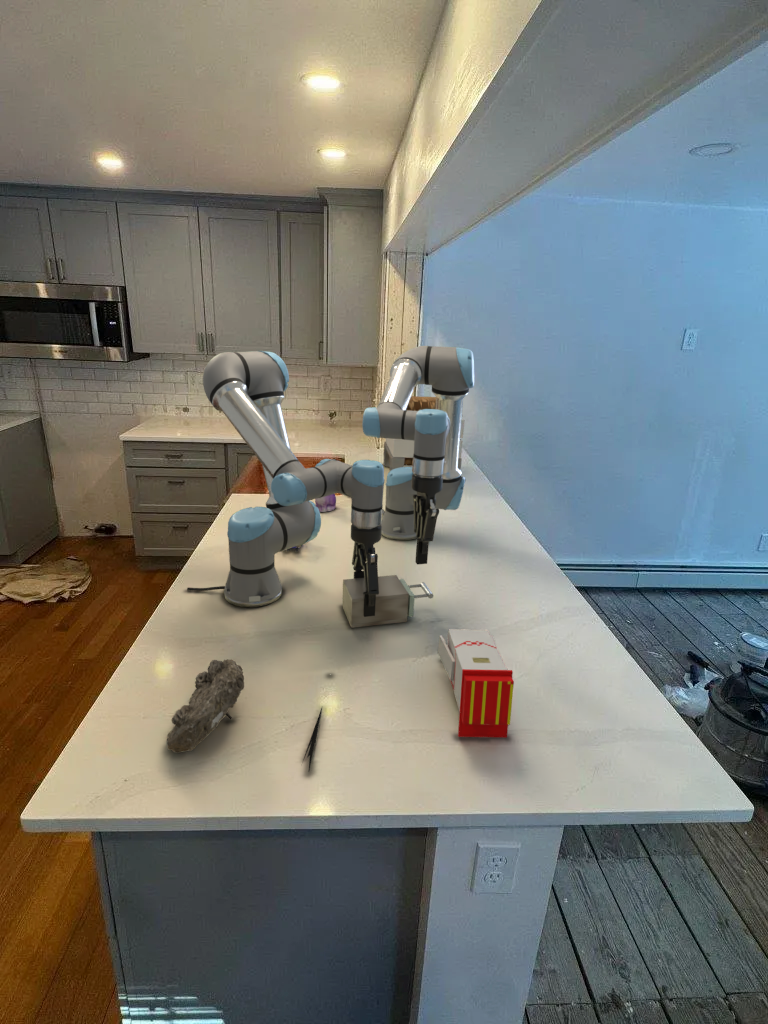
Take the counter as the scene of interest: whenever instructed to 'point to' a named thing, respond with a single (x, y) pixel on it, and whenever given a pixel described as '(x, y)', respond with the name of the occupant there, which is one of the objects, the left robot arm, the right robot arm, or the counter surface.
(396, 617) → the cabinet
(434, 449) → the right robot arm
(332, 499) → the figurine
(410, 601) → the drawer
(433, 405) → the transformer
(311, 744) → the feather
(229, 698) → the fossil
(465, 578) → the counter surface
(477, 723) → the toy
